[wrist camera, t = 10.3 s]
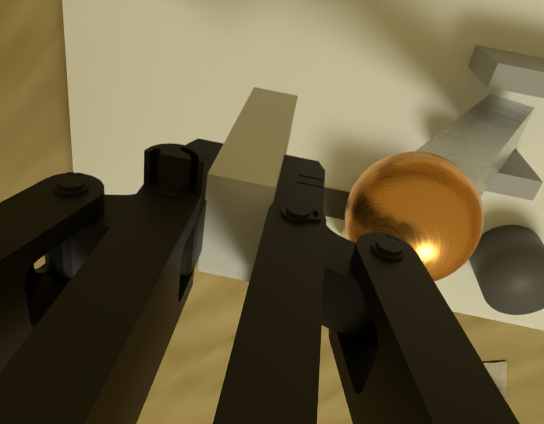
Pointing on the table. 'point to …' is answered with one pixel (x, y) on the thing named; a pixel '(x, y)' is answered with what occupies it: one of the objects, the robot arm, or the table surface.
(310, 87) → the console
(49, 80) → the table surface
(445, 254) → the toggle lever
